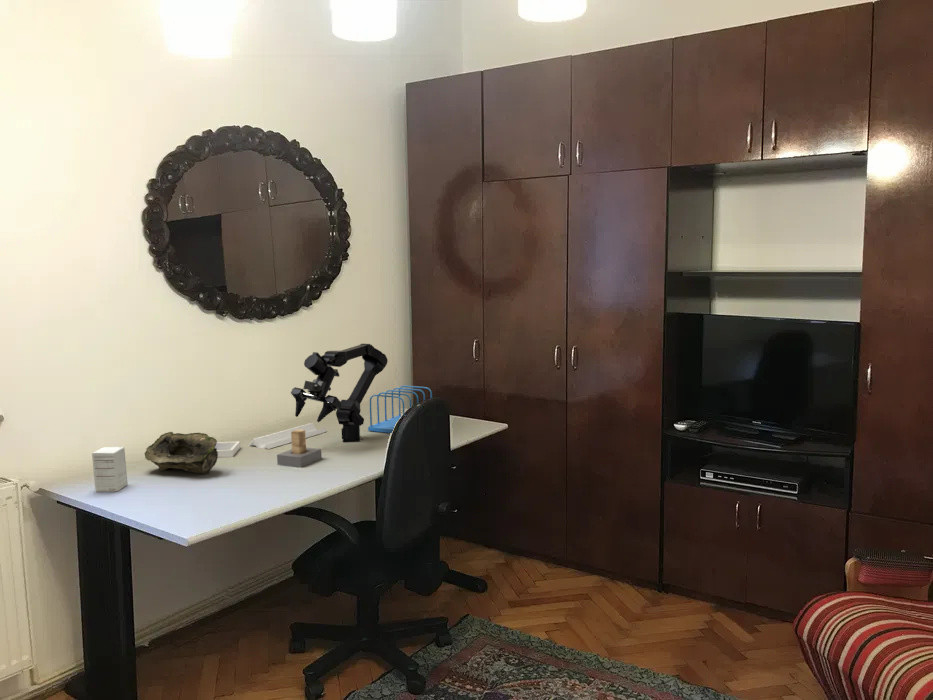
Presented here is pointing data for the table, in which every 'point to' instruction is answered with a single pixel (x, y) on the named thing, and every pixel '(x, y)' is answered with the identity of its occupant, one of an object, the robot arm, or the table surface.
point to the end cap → (299, 457)
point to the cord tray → (227, 445)
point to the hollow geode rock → (184, 452)
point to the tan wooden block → (298, 441)
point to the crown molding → (284, 436)
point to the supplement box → (109, 469)
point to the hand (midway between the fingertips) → (306, 419)
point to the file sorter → (390, 423)
